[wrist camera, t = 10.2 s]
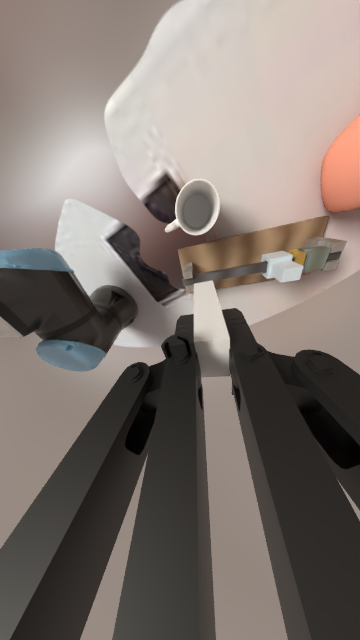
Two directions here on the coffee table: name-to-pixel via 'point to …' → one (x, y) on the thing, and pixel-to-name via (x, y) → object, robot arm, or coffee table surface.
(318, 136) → the coffee table surface
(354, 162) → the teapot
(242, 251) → the din rail terminal board
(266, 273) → the white stepped block
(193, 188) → the mug
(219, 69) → the coffee table surface
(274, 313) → the coffee table surface
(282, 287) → the coffee table surface
